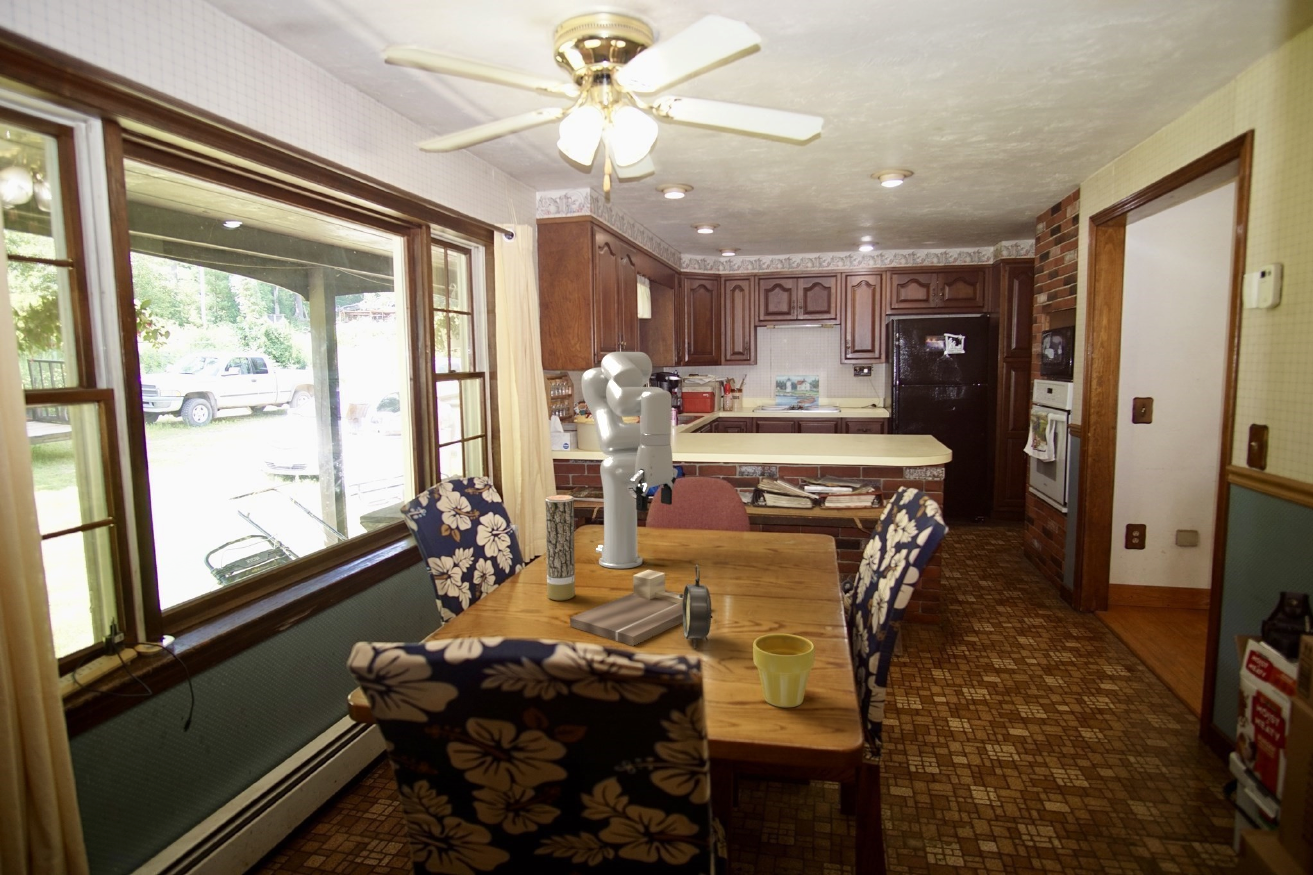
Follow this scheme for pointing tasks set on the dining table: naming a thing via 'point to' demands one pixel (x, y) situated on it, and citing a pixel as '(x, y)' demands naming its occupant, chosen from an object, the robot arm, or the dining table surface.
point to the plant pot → (783, 667)
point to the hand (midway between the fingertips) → (654, 507)
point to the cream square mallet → (653, 587)
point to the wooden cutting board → (630, 618)
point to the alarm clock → (696, 611)
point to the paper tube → (560, 547)
